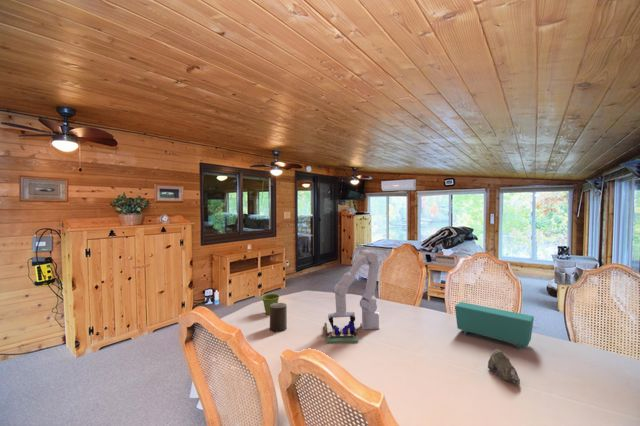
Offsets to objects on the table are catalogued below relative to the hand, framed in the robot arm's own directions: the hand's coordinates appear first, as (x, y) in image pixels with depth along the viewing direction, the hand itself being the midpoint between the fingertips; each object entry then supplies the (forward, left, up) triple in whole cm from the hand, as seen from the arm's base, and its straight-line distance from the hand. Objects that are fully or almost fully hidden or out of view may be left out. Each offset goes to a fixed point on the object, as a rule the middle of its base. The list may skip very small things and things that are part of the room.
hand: (342, 329), depth 163 cm
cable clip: (0, +4, -1) cm, 4 cm away
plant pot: (+44, -31, -1) cm, 54 cm away
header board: (+1, +11, -1) cm, 11 cm away
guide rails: (+1, 0, -1) cm, 2 cm away
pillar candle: (+36, -6, -1) cm, 37 cm away
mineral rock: (-60, +47, -1) cm, 76 cm away
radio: (-77, +13, -1) cm, 78 cm away
